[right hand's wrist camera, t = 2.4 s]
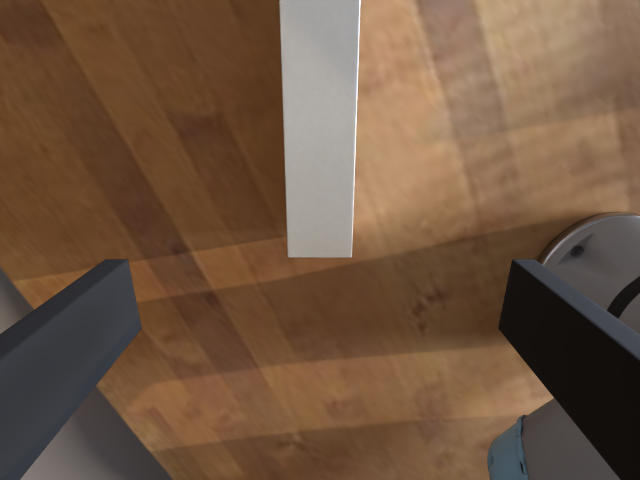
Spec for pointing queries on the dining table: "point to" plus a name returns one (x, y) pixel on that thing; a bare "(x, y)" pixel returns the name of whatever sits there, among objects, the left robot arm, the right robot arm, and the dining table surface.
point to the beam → (319, 123)
